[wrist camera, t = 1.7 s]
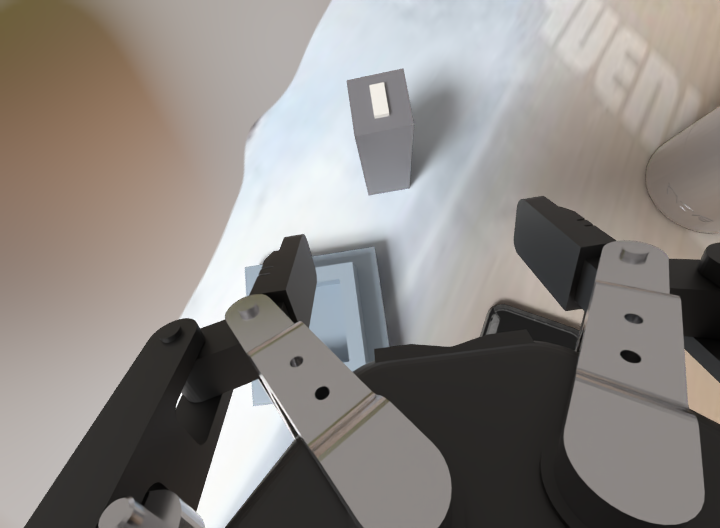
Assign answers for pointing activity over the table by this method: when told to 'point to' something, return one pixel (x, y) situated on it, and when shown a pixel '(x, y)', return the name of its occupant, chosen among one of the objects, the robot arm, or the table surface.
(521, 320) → the phone
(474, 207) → the table surface
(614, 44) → the table surface
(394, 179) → the block
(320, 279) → the outlet box
